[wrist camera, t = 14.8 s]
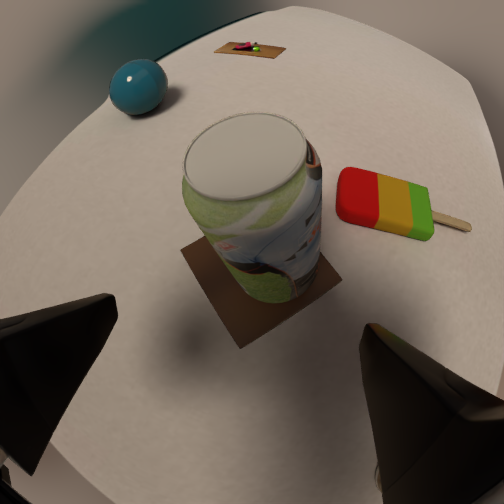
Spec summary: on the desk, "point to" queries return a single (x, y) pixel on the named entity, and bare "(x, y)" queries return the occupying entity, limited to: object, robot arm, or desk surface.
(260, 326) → the coaster
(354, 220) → the popsicle
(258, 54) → the board
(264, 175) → the beverage can
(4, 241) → the desk surface
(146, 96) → the ball
